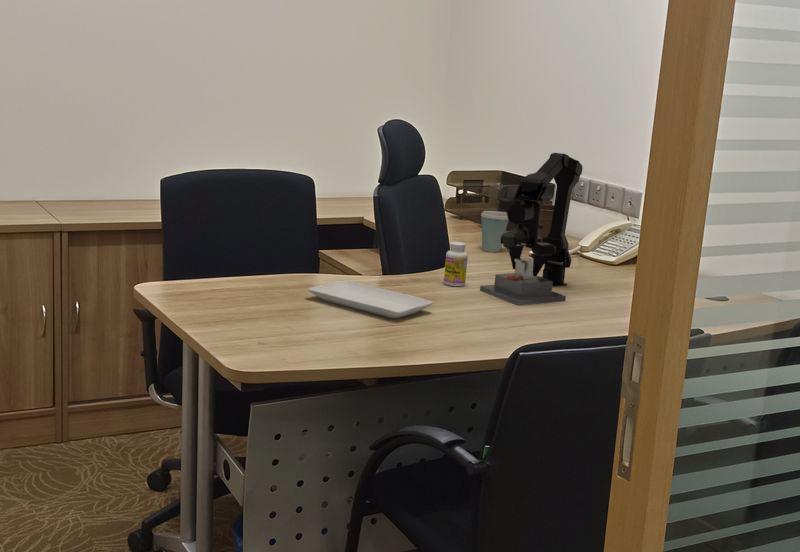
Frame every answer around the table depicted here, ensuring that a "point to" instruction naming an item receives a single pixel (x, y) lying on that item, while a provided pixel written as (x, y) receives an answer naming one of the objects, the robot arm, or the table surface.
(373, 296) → the tray
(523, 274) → the column
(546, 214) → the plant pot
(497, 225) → the disposable coffee cup
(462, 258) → the supplement bottle
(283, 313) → the table surface
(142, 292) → the table surface
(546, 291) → the red button base
